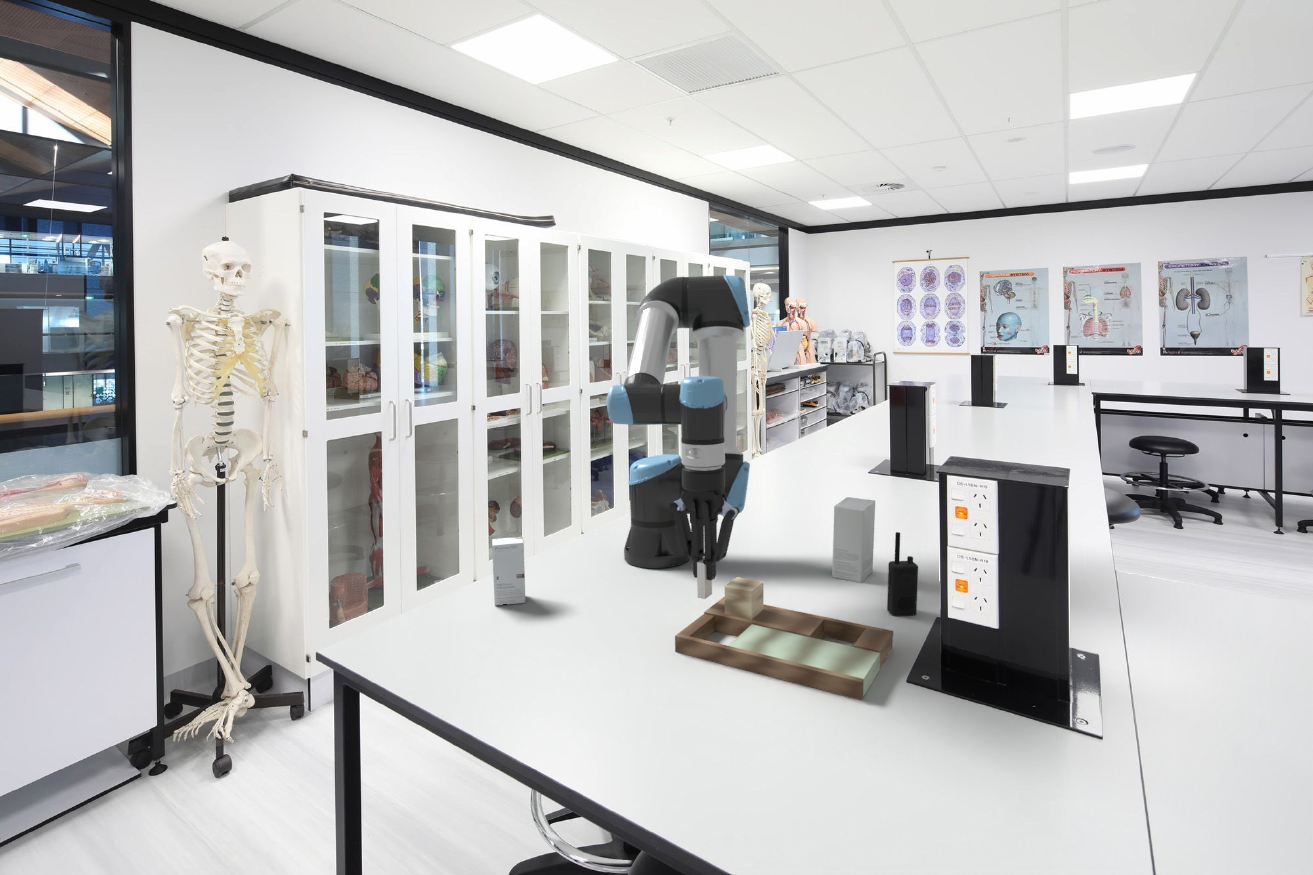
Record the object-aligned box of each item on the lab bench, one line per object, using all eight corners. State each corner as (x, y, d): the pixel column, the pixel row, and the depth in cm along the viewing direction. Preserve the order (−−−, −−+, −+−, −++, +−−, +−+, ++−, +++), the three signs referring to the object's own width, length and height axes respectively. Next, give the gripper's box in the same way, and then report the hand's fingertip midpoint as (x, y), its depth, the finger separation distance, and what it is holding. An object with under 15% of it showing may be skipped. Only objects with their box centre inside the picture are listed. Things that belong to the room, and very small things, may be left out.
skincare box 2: (844, 566, 150) (846, 496, 147) (875, 571, 146) (877, 499, 143) (831, 578, 143) (832, 504, 140) (862, 584, 139) (864, 508, 137)
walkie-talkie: (910, 608, 127) (913, 529, 124) (918, 616, 123) (921, 534, 121) (884, 609, 127) (887, 530, 124) (891, 617, 123) (894, 535, 121)
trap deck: (675, 651, 112) (674, 634, 112) (724, 611, 127) (724, 596, 127) (861, 700, 96) (861, 680, 96) (892, 648, 111) (893, 630, 111)
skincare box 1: (494, 606, 132) (490, 545, 130) (494, 598, 136) (490, 538, 135) (527, 603, 134) (523, 542, 132) (526, 594, 138) (522, 535, 136)
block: (724, 613, 119) (724, 586, 118) (737, 603, 123) (737, 576, 122) (751, 619, 116) (751, 591, 116) (763, 609, 120) (763, 581, 120)
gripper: (659, 466, 120) (662, 596, 124) (727, 473, 113) (728, 610, 117) (681, 459, 126) (683, 582, 130) (746, 465, 119) (747, 595, 123)
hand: (704, 595), depth 123 cm, fingers closed
